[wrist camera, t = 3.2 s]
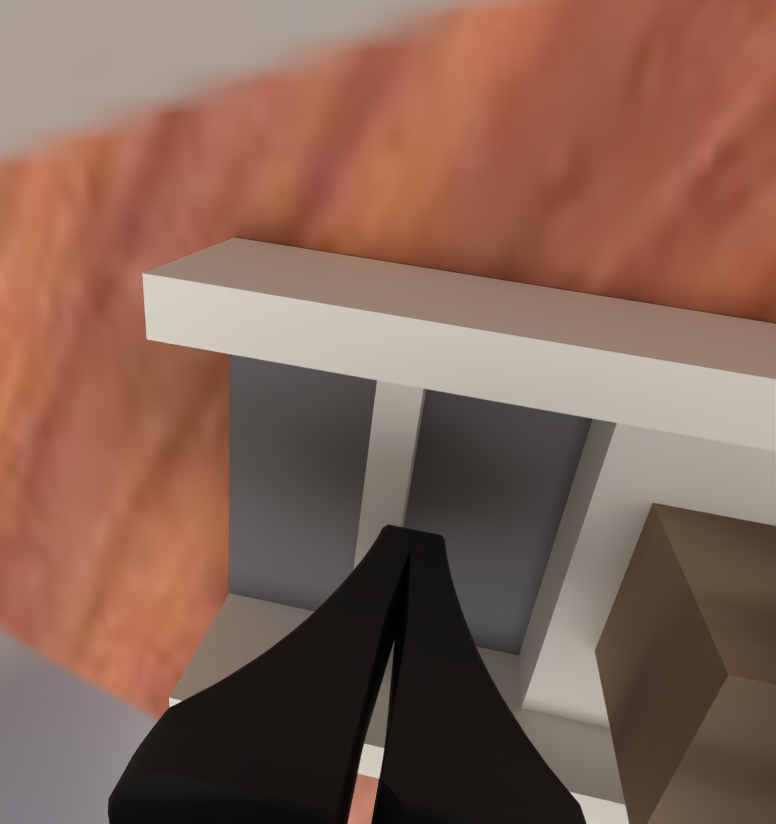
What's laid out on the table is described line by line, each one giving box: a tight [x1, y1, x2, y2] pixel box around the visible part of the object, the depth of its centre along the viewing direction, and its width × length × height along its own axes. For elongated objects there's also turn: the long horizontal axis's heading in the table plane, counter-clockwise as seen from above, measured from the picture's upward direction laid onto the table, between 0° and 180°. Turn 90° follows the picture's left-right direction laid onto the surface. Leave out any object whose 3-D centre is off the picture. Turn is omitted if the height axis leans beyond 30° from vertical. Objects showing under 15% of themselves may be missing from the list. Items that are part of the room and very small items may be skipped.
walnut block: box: [595, 503, 776, 824], centre depth 11 cm, size 4×4×4 cm
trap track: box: [143, 237, 776, 824], centre depth 13 cm, size 22×12×4 cm, turn 83°
